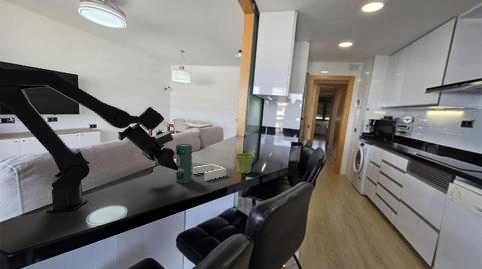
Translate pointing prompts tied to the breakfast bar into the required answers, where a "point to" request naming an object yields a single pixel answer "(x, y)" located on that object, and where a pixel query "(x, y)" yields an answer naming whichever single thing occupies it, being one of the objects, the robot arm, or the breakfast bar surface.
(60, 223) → the breakfast bar surface
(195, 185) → the breakfast bar surface
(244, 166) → the plant pot
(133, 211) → the breakfast bar surface
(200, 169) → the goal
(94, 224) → the breakfast bar surface
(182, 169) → the can
